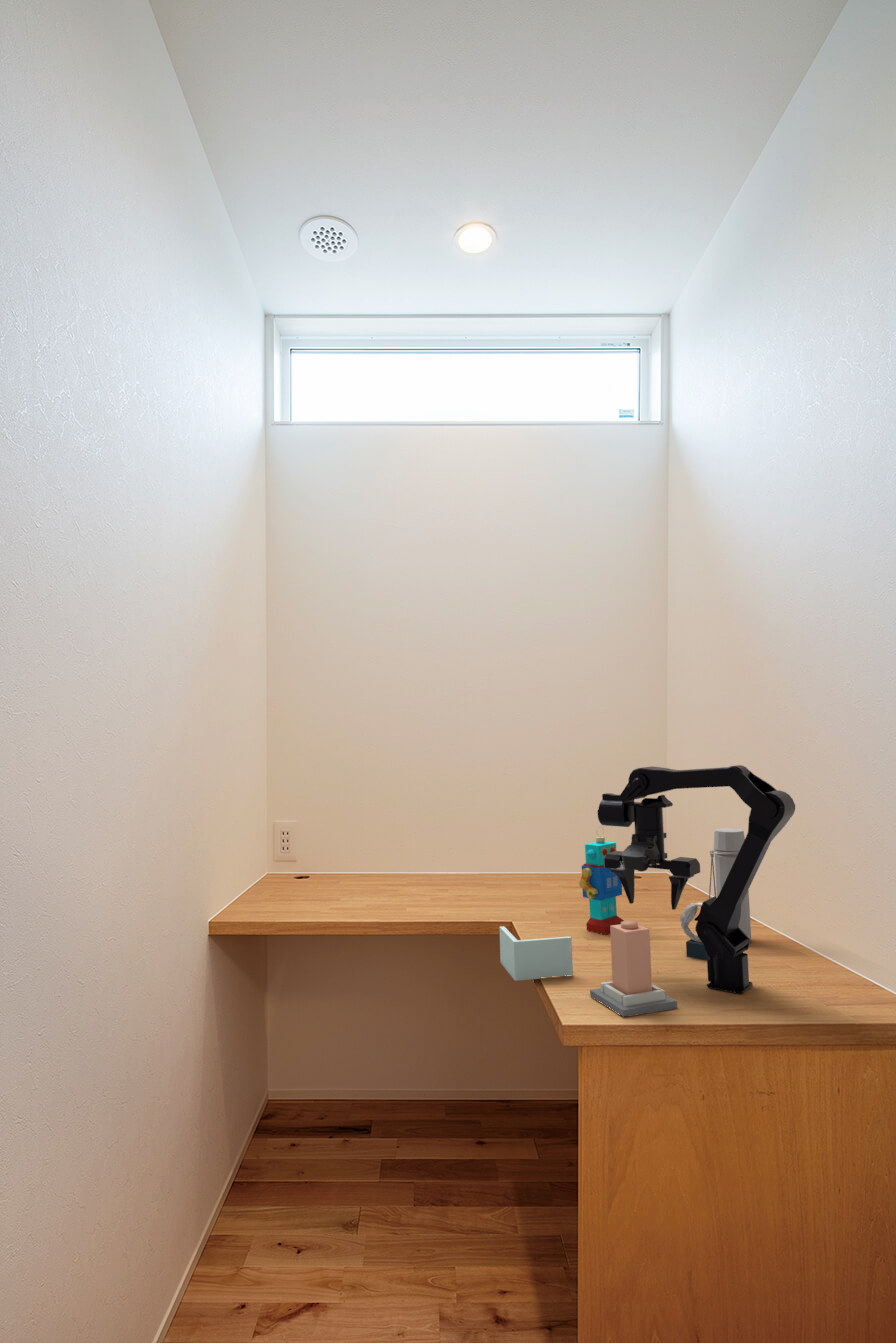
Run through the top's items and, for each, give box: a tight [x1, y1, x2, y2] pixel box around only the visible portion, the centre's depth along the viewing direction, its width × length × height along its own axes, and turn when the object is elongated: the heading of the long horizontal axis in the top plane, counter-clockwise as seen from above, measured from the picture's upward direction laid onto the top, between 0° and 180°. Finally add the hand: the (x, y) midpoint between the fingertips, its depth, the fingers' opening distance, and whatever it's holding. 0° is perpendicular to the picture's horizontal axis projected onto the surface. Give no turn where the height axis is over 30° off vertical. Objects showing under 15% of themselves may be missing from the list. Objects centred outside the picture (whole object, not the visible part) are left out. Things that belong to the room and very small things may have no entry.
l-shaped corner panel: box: [499, 925, 574, 982], centre depth 156 cm, size 12×12×8 cm
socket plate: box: [589, 980, 678, 1017], centre depth 136 cm, size 11×11×3 cm
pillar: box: [609, 920, 653, 995], centre depth 136 cm, size 5×5×13 cm
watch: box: [679, 901, 709, 961], centre depth 162 cm, size 6×8×11 cm
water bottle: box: [708, 827, 752, 941], centre depth 174 cm, size 9×8×25 cm
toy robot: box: [578, 825, 625, 935], centre depth 186 cm, size 12×6×25 cm, turn 131°
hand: (652, 906), depth 153 cm, fingers open, 9 cm apart
